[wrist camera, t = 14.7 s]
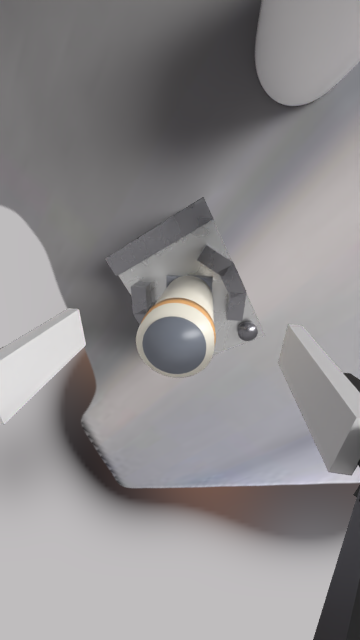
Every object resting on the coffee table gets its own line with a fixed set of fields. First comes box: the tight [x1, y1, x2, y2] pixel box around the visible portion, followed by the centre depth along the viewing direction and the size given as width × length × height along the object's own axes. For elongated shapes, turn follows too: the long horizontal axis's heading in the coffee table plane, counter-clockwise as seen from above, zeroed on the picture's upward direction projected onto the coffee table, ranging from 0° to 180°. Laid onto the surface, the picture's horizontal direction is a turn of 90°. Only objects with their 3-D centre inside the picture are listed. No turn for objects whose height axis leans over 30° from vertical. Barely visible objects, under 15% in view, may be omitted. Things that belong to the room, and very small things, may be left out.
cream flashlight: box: [136, 275, 216, 378], centre depth 18 cm, size 5×5×10 cm
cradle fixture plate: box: [105, 197, 265, 355], centre depth 24 cm, size 15×11×7 cm
